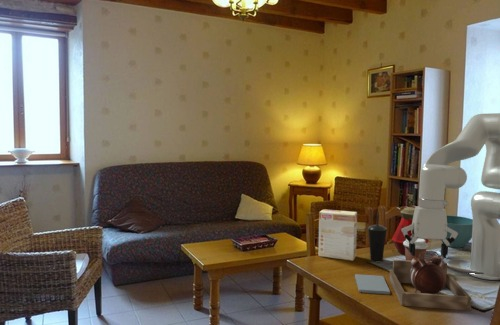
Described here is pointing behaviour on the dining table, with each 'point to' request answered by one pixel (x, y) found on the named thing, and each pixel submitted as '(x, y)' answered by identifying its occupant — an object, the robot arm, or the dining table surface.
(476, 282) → the dining table surface
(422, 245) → the coffee cup
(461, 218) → the teal bowl
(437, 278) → the alarm clock
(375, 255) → the drinking cup
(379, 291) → the slate mat
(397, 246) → the red jar
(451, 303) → the tray
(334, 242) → the coffeecake box
